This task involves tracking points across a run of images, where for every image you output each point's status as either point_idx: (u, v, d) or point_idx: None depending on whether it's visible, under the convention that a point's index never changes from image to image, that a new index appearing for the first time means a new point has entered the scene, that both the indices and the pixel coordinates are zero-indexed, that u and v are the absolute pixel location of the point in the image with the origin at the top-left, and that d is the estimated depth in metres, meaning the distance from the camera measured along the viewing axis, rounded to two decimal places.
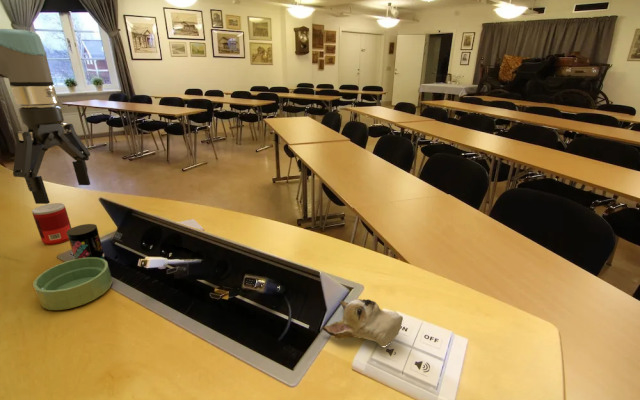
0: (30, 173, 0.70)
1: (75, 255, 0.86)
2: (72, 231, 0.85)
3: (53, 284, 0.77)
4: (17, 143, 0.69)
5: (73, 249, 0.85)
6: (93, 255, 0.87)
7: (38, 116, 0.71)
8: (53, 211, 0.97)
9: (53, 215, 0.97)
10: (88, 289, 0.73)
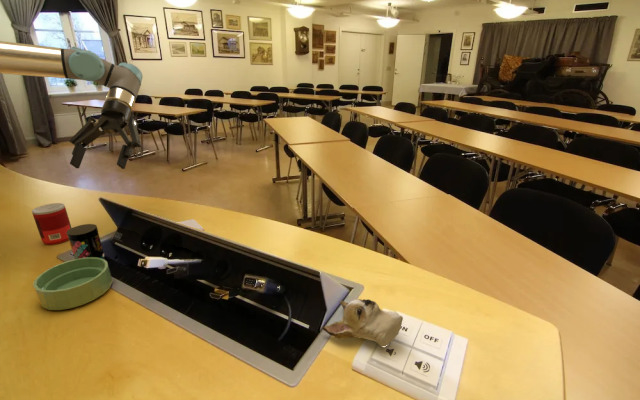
0: None
1: (75, 255, 0.86)
2: (72, 231, 0.85)
3: (53, 284, 0.77)
4: (132, 124, 0.96)
5: (73, 249, 0.85)
6: (93, 255, 0.87)
7: None
8: (53, 211, 0.97)
9: (53, 215, 0.97)
10: (88, 289, 0.73)
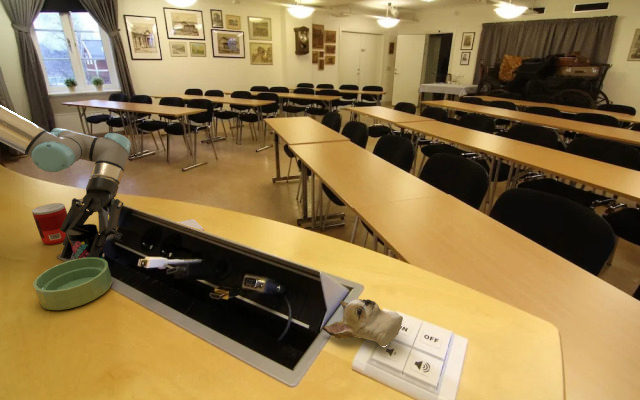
0: None
1: (75, 255, 0.86)
2: (72, 231, 0.85)
3: (53, 284, 0.77)
4: (115, 207, 0.90)
5: (73, 249, 0.85)
6: None
7: (117, 190, 0.96)
8: (53, 211, 0.97)
9: (53, 215, 0.97)
10: (88, 289, 0.73)
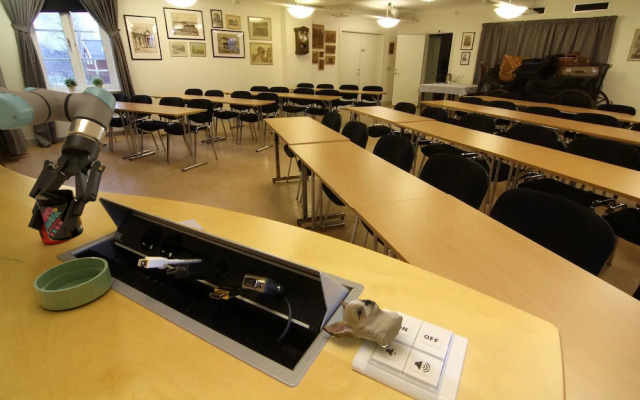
0: None
1: (46, 225, 0.71)
2: (42, 196, 0.71)
3: (53, 284, 0.77)
4: (96, 170, 0.76)
5: (44, 217, 0.71)
6: None
7: None
8: None
9: None
10: (88, 289, 0.73)
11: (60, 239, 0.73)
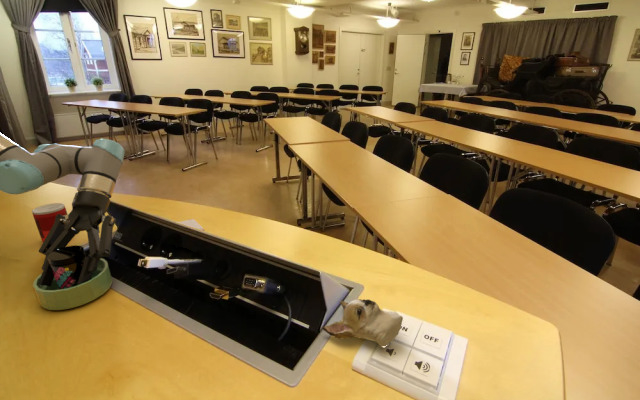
0: None
1: (58, 283, 0.73)
2: (54, 255, 0.72)
3: (53, 284, 0.77)
4: (107, 225, 0.78)
5: (55, 276, 0.72)
6: None
7: (108, 205, 0.83)
8: (53, 211, 0.97)
9: (53, 215, 0.97)
10: (88, 289, 0.73)
11: None
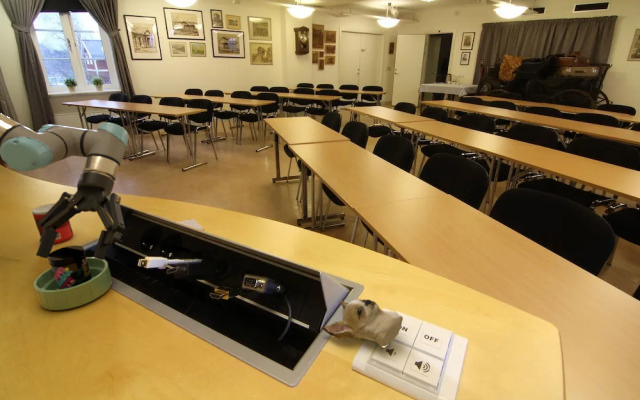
0: None
1: (58, 283, 0.73)
2: (54, 255, 0.72)
3: (53, 284, 0.77)
4: (114, 202, 0.80)
5: (55, 276, 0.72)
6: (79, 282, 0.74)
7: (112, 187, 0.85)
8: None
9: None
10: (88, 289, 0.73)
11: None
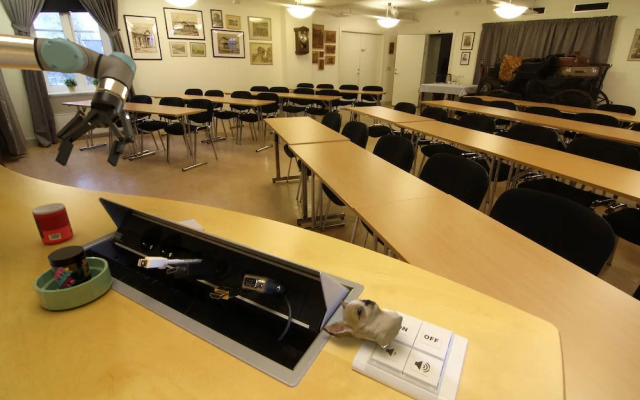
0: None
1: (58, 283, 0.73)
2: (54, 255, 0.72)
3: (53, 284, 0.77)
4: (125, 118, 0.88)
5: (55, 276, 0.72)
6: (79, 282, 0.74)
7: (122, 109, 0.93)
8: (53, 211, 0.97)
9: (53, 215, 0.97)
10: (88, 289, 0.73)
11: None
